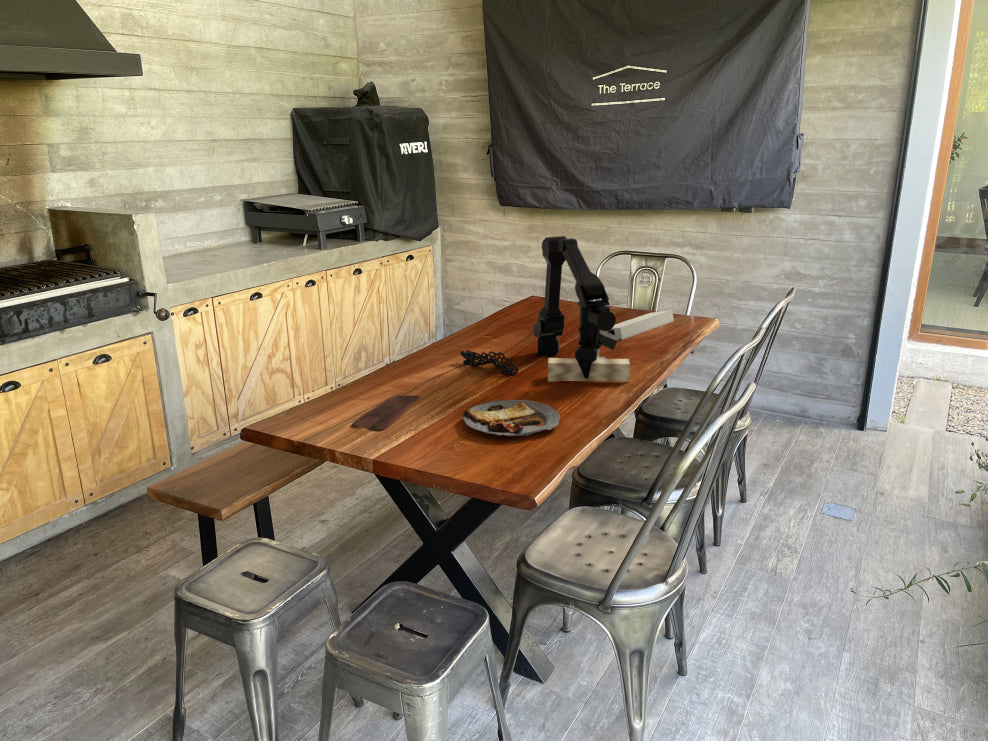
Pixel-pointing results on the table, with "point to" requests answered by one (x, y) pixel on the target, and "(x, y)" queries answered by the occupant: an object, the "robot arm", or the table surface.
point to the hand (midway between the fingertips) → (588, 373)
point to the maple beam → (599, 370)
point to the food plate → (511, 417)
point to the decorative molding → (642, 324)
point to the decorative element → (489, 361)
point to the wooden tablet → (385, 413)
